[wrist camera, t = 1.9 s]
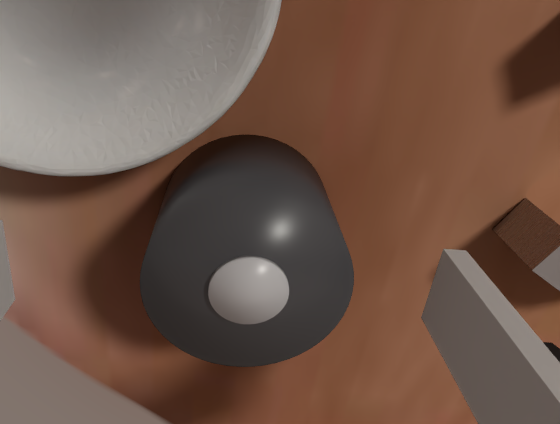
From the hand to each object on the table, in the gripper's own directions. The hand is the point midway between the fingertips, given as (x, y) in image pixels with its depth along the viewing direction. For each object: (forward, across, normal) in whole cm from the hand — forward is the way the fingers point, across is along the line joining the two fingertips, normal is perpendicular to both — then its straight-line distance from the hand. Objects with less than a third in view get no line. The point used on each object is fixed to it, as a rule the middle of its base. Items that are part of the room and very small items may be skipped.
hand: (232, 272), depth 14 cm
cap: (+4, 0, 0) cm, 5 cm away
